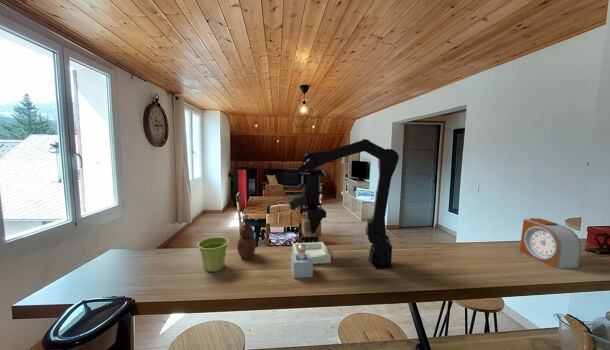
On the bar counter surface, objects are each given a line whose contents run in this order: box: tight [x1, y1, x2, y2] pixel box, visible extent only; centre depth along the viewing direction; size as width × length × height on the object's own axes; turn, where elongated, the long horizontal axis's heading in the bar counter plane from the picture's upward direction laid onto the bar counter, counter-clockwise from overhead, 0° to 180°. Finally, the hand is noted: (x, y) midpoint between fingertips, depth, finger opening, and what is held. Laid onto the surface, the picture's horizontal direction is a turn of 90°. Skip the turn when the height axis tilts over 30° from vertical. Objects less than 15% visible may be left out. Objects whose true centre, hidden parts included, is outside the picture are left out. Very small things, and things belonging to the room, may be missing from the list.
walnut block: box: [301, 217, 322, 238], centre depth 87 cm, size 6×6×5 cm
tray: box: [291, 241, 332, 265], centre depth 88 cm, size 12×12×3 cm
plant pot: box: [197, 236, 230, 273], centre depth 79 cm, size 9×9×9 cm
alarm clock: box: [519, 217, 582, 269], centre depth 89 cm, size 15×8×14 cm, turn 2°
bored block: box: [290, 253, 314, 279], centre depth 77 cm, size 6×6×5 cm
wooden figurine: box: [236, 217, 257, 259], centre depth 87 cm, size 7×6×15 cm
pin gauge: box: [298, 244, 306, 261], centre depth 76 cm, size 2×2×9 cm
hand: (311, 230), depth 87 cm, fingers closed on walnut block, 6 cm apart
